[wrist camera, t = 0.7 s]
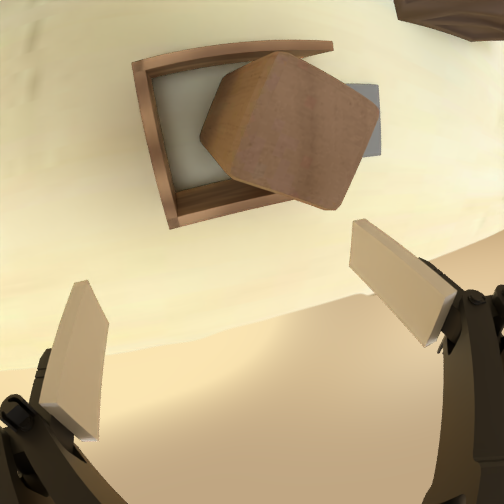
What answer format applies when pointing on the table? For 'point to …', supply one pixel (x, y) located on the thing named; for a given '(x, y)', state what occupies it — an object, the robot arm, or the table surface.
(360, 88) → the pad
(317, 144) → the block
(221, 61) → the cubby
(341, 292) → the table surface
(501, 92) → the table surface
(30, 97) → the table surface
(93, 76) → the table surface
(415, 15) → the wooden crate
